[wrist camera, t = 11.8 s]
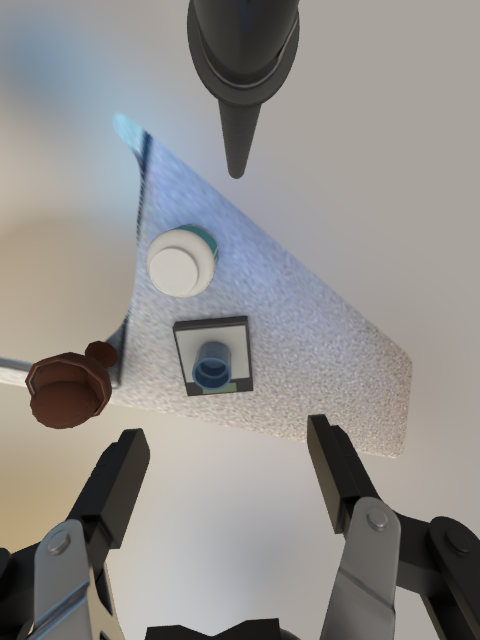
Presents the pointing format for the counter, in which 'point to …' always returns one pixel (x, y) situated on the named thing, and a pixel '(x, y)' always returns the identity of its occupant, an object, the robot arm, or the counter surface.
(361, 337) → the counter surface
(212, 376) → the blue cup
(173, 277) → the pill bottle
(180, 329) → the kitchen scale
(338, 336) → the counter surface
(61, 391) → the ice cream bowl
